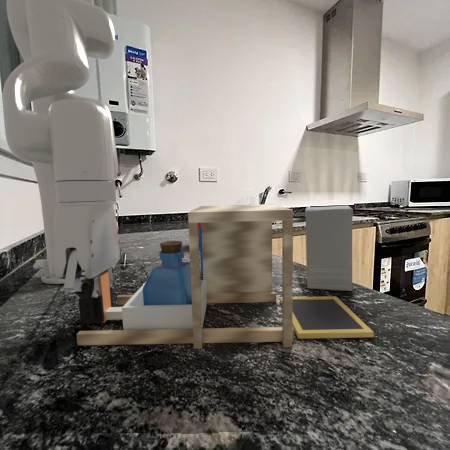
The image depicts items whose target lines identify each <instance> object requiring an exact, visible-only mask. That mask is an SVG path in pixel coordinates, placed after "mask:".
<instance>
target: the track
mask: <svg viewBox="0 0 450 450" xmlns="http://www.w3.org/2000/svg"><path fill="white" fill-rule="evenodd" d="M133 295H134V294H119V295H118V294H117V296H116V306H124V305H125V304H126V303H127V302H128V301H129V299H130V298H131V297H132V296H133ZM235 303H236V304H239V303H240V304H242V303H243V304H244V303H249V304H250V303H277V292H276V291H272V292H243V293H207V304H235ZM202 337H203V344H215V343H217V344H219V343H220V344H221V343H222V344H223V343H230V344H231V343H267V342H268V343H273V342H275V343H277V342H278V343H279V342H280V343H281V342H282V326H278V327H277V326H274V327H272V326H269V327H265V326H264V327H260V326H259V327H224V328H223V327H222V328H220V327H217V328H212V327H211V328H209V327H208V328H202ZM294 340H295V331H294V329H293V327H292V342H295V341H294ZM76 343H77V346H105V345H106V346H108V345H109V346H111V345H112V346H117V345H118V346H119V345H123V346H124V345H162V344H164V345H167V344H168V345H169V344H172V345H175V344H176V345H177V344H194V341H193V329H155V330H123V329H117V330H116V329H113V330H111V329H110V330H79V331H78V332H77V333H76Z"/></svg>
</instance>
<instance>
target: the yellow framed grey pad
mask: <svg viewBox="0 0 450 450" xmlns="http://www.w3.org/2000/svg"><path fill="white" fill-rule="evenodd" d="M279 302H280V304H281V305H282V296H281V297H280V298H279ZM292 327H293V329H294V334H295V336H296V337H297V339H302V340H303V339H345V338H347V339H349V338H353V339H354V338H374V337H375V336H374V333H375V332H374V330H372V329H371V328H370V327H369V326H368V325H367V324H366V323H365V322H363V320H362V319H360V317H359V316H357V315H356V313H354V312H353V310H351V309H350V308H349V307H348V306H347V305H346V304H345V303H344V302H342V300H341V299H339V298H338V297H337V296H333V295H332V296H293V311H292Z"/></svg>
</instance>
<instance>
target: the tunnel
mask: <svg viewBox="0 0 450 450" xmlns="http://www.w3.org/2000/svg"><path fill="white" fill-rule="evenodd" d="M187 218H188V244H189V245H188V246H189V262H190V271H191V295H192V318H193V341H194V343H193V349H195V350H198V349H203V345H204V343H203V337H202V329H203V327H202V311H201V285H200V280H201V261H200V245H199V233H198V223H201V227H202V255H203V272H202V274H203V275H202V277H203V278H202V280H206V286H207V293H243V292H273V222H275V221H276V222H278V221H279V222H280V221H282V222H281V223H282V227H281V228H282V231H281V232H282V238H281V239H282V244H281V245H282V251H281V252H282V256H281V257H282V262H281V263H282V264H281V265H282V266H281V268H282V271H281V272H282V275H281V276H282V279H281V281H282V284H281V285H282V289H281V290H282V291H281V293H282V294H281V295H282V296H281V297H282V304H281V306H282V307H281V309H282V310H281V312H282V313H281V314H282V315H281V316H282V317H281V319H282V323H281V324H282V326H281V327H282V343H281V344H282V346H283V348H293V341H292V311H293V297H294V296H293V294H294V293H293V292H294V290H293V289H294V288H293V284H294V282H293V280H294V279H293V278H294V269H293V268H294V263H293V262H294V259H293V258H294V209H291V208H288V207H284V206H280V205H276V204H271V203H269V204H268V203H267V204H265V203H263V204H233V205H232V204H229V205H227V204H226V205H201V206H198V207H196V208H193V209H192V210H190V211H189V212H187Z"/></svg>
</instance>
